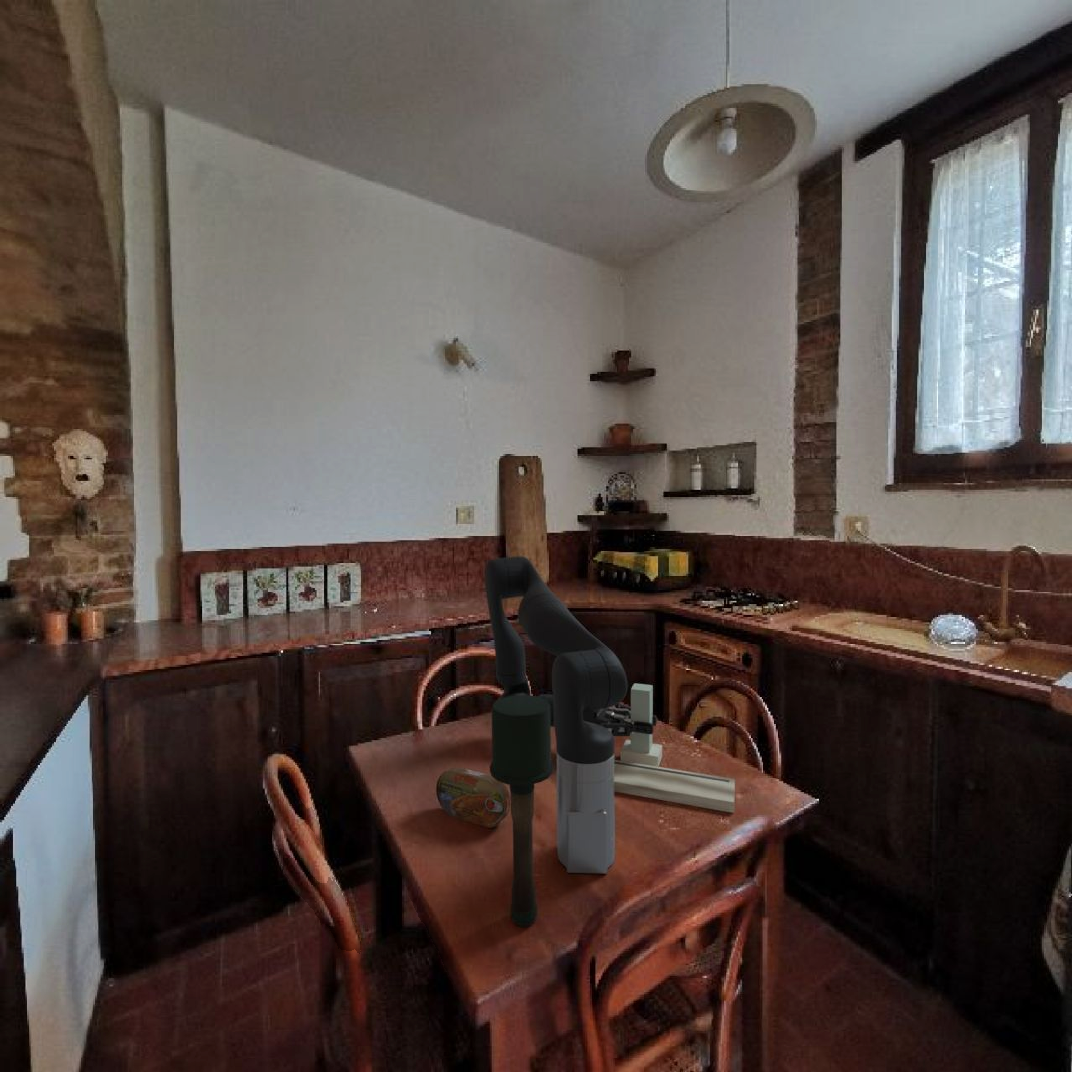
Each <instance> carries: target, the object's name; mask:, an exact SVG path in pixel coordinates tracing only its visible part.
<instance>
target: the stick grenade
mask: <svg viewBox="0 0 1072 1072" xmlns="http://www.w3.org/2000/svg"><path fill="white" fill-rule="evenodd" d="M551 737H552V736H551V727H550V705H549V703H548V702H547V701H546V700H544V699H542V698H540V697H537V696H536V695H531V696H529V695H515V696H509V697H505V698H502V699H499V700H497V699H496V701H494V702H493V704H492V707H491V753H492V754H491V755H492V756H491V762H490V765H489V772H490V775H491V776H492V777H493V778H495V779H496V780H497V781H499V782H502V783H504V785H509V790H510V793H509V796H510V815H511V816H510V817H511V820H512V848H513V849H512V850H513V851H512V852H513V853H512V857H513V859H512V863H513V865H512V866H513V870H512V871H513V880H512V885H511V893H510V894H511V896H510V897H511V901H510V903H511V904H510V907H509V908H510V909H509V912H510V917H511V919H512V922H513V924H515V925H516V926H518V927H522V928H524V927H525V928H526V927H529V926H531V925H532V924H534V923H535V921H536V920H537V919H536V918H537V917H538V916H537V915H538V906H537V905H538V904H537V894H536V893H537V889H536V885H535V881H534V880H535V879H534V852H533V851H534V850H533V849H534V847H533V846H534V844H533V843H534V841H533V838H534V835H533V821H534V814H535V791H534V790H535V784H539V783H541V782H543V781H545V780H546V781H547V780H548V779H549V778H550V777H551V776H552V775H553V773H554V767H555V766H554V762H553V761H552V750H551V749H552V748H551V747H552V746H551V744H552V743H551V742H552V741H551Z"/></svg>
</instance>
